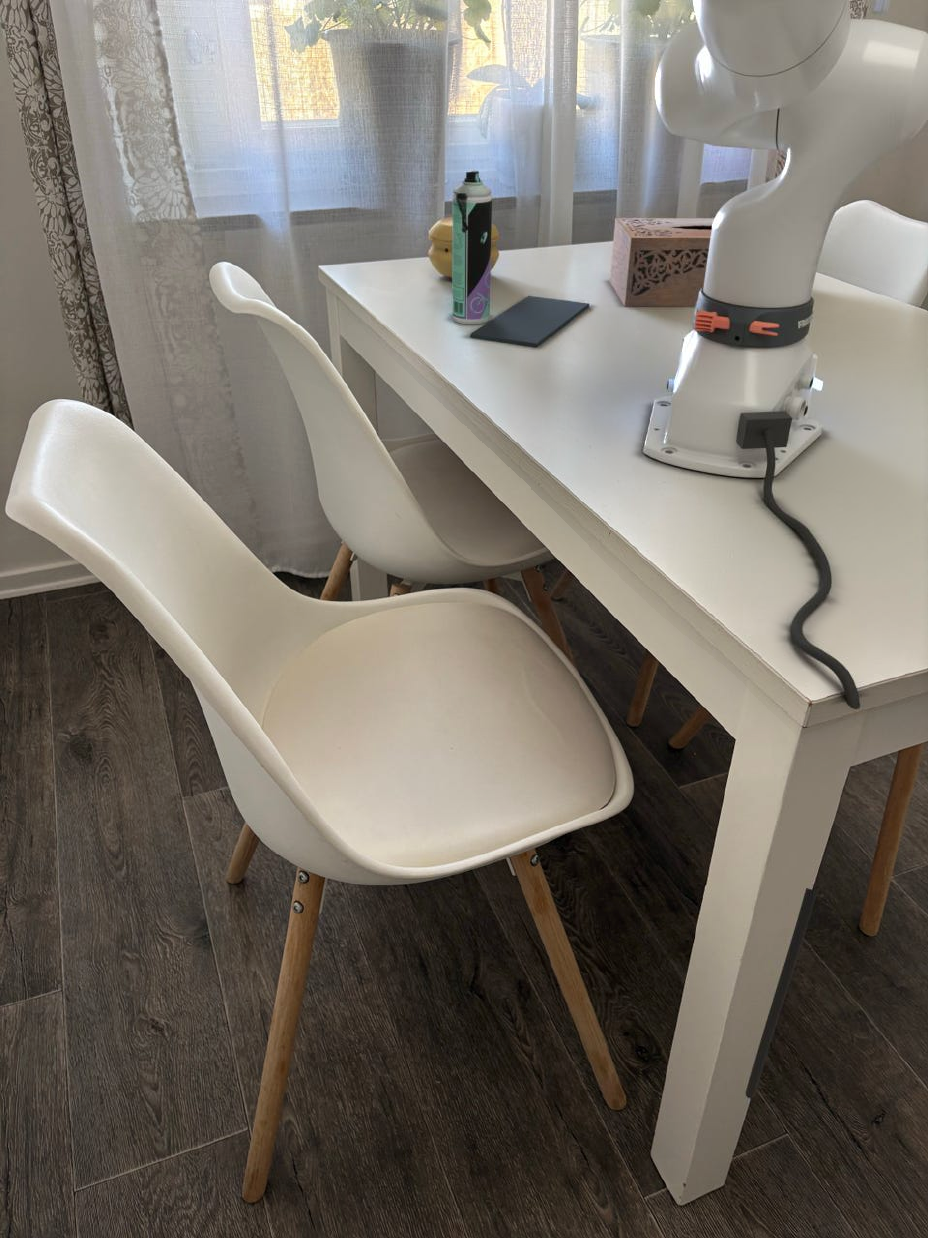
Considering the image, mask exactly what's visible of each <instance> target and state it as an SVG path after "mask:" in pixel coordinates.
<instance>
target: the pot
mask: <svg viewBox="0 0 928 1238" xmlns="http://www.w3.org/2000/svg"><path fill="white" fill-rule="evenodd" d="M428 239H429V241H431V243H432V245H431V247H430V248H429V250H428V258H429V261H430V262H431V265H432V266H433V268H434V269H435V271H436V272H438V273H439V274H441V275H442V276H444V277H446V278H449V279H450V278H451V279H452V216H449V217H445V218H442V219H439V220H438V221H437V222H435V223H434V224H433V226H431V228H430V230H429V231H428ZM499 240H500V233H499V230H498V228H497V227H496V226H495V224H493V223H492V231H491V271H492V270H493V269H494V267H495V265H496V263H497V262H498V259H499V257H500V252H499V249H498V248H497V246H496V243H498V241H499Z"/></svg>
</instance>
